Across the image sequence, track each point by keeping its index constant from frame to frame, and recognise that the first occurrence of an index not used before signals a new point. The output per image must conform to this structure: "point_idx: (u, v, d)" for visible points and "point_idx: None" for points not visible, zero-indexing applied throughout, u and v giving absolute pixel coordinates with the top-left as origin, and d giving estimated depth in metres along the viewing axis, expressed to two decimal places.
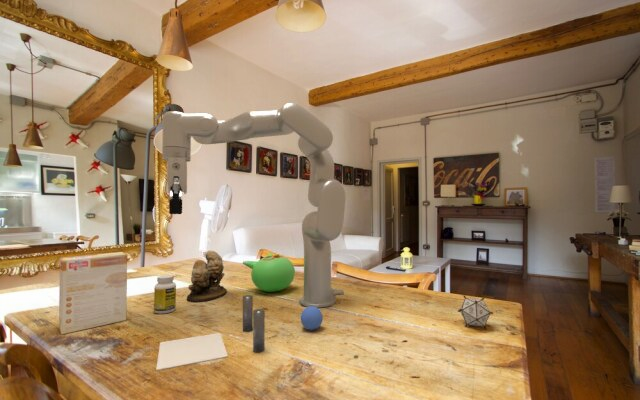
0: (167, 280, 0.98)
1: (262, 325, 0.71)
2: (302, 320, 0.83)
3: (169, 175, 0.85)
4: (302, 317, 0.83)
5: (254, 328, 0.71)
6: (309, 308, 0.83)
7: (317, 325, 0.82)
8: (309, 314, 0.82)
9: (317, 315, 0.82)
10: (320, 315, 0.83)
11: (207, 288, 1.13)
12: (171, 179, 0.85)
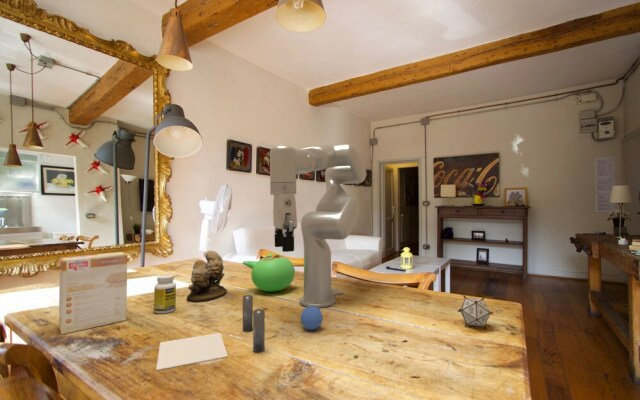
0: (167, 280, 0.98)
1: (262, 325, 0.71)
2: (302, 320, 0.83)
3: (281, 212, 0.84)
4: (302, 317, 0.83)
5: (254, 328, 0.71)
6: (309, 308, 0.83)
7: (317, 325, 0.82)
8: (309, 314, 0.82)
9: (317, 315, 0.82)
10: (320, 315, 0.83)
11: (207, 288, 1.13)
12: (283, 216, 0.84)
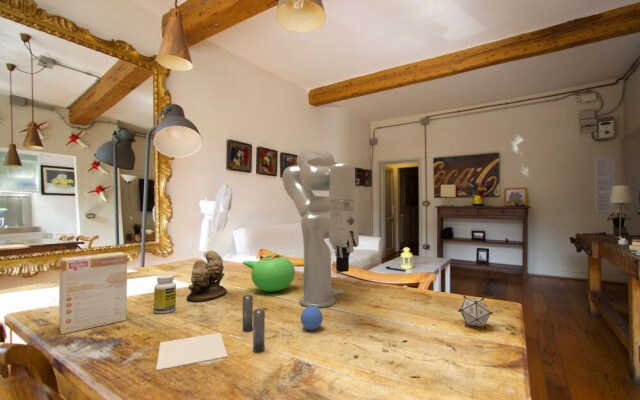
0: (167, 280, 0.98)
1: (262, 325, 0.71)
2: (302, 320, 0.83)
3: (345, 230, 0.84)
4: (302, 317, 0.83)
5: (254, 328, 0.71)
6: (309, 308, 0.83)
7: (317, 325, 0.82)
8: (309, 314, 0.82)
9: (317, 315, 0.82)
10: (320, 315, 0.83)
11: (207, 288, 1.13)
12: (347, 234, 0.84)
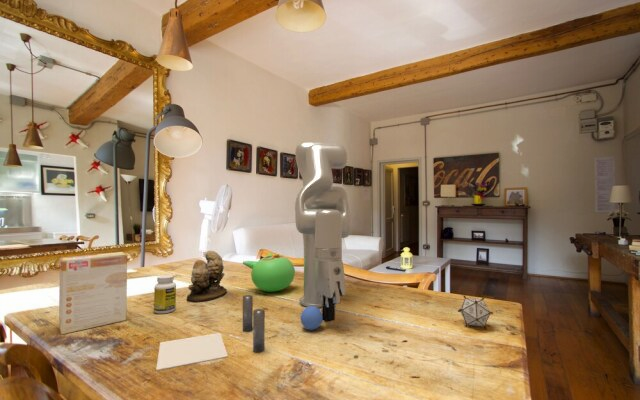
0: (167, 280, 0.98)
1: (262, 325, 0.71)
2: (302, 320, 0.83)
3: (331, 281, 0.81)
4: (302, 317, 0.83)
5: (254, 328, 0.71)
6: (309, 308, 0.83)
7: (317, 325, 0.82)
8: (309, 314, 0.82)
9: (317, 315, 0.82)
10: (320, 315, 0.83)
11: (207, 288, 1.13)
12: (333, 285, 0.81)
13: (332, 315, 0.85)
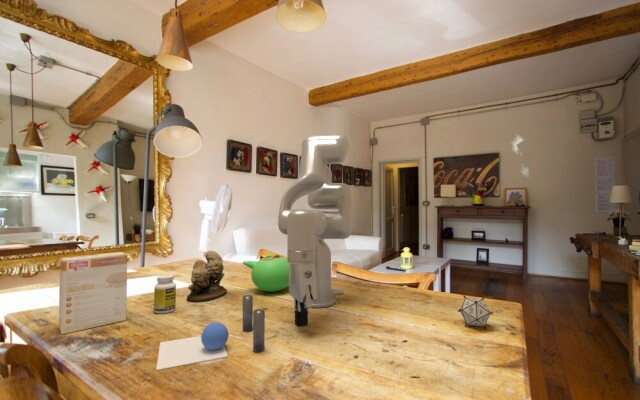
0: (167, 280, 0.98)
1: (262, 325, 0.71)
2: None
3: (301, 285, 0.78)
4: None
5: (254, 328, 0.71)
6: (204, 346, 0.71)
7: (222, 335, 0.70)
8: (211, 349, 0.70)
9: (210, 342, 0.69)
10: (209, 336, 0.69)
11: (207, 288, 1.13)
12: (304, 289, 0.78)
13: (304, 320, 0.82)
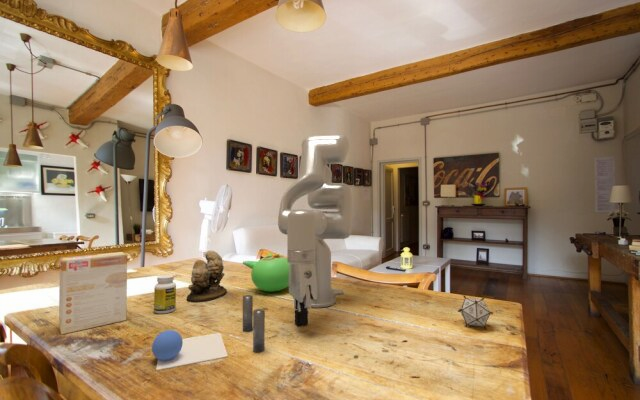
0: (167, 280, 0.98)
1: (262, 325, 0.71)
2: (159, 335, 0.67)
3: (301, 285, 0.78)
4: (163, 333, 0.67)
5: (254, 328, 0.71)
6: (177, 334, 0.68)
7: (163, 355, 0.65)
8: (171, 336, 0.66)
9: (175, 346, 0.66)
10: (176, 351, 0.66)
11: (207, 288, 1.13)
12: (304, 289, 0.78)
13: (304, 320, 0.82)
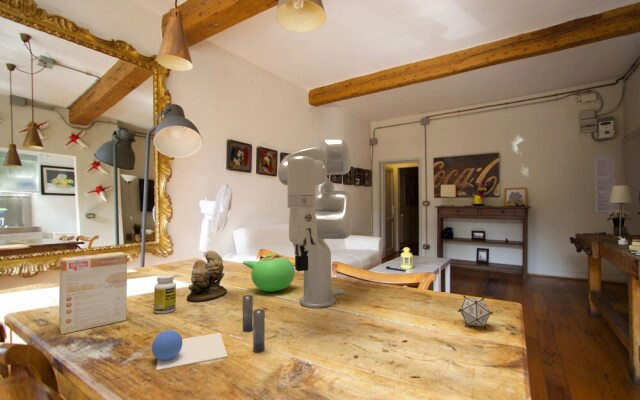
0: (167, 280, 0.98)
1: (262, 325, 0.71)
2: (159, 335, 0.67)
3: (302, 228, 0.79)
4: (163, 333, 0.67)
5: (254, 328, 0.71)
6: (177, 334, 0.68)
7: (162, 355, 0.65)
8: (171, 336, 0.66)
9: (175, 346, 0.66)
10: (176, 351, 0.66)
11: (207, 288, 1.13)
12: (304, 232, 0.79)
13: (305, 264, 0.83)
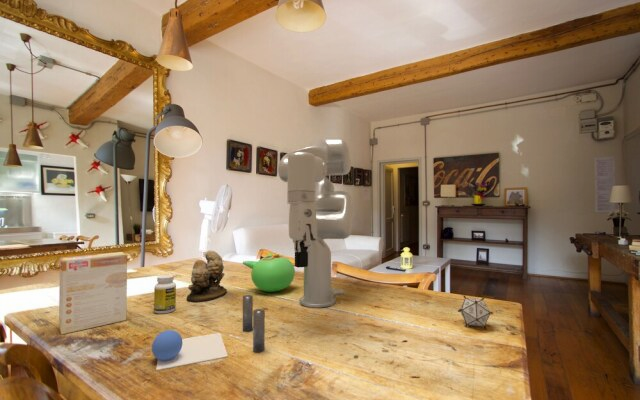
0: (167, 280, 0.98)
1: (262, 325, 0.71)
2: (159, 335, 0.67)
3: (301, 223, 0.79)
4: (163, 333, 0.67)
5: (254, 328, 0.71)
6: (177, 334, 0.68)
7: (162, 355, 0.65)
8: (171, 336, 0.66)
9: (175, 346, 0.66)
10: (176, 351, 0.66)
11: (207, 288, 1.13)
12: (304, 227, 0.79)
13: (304, 260, 0.82)
